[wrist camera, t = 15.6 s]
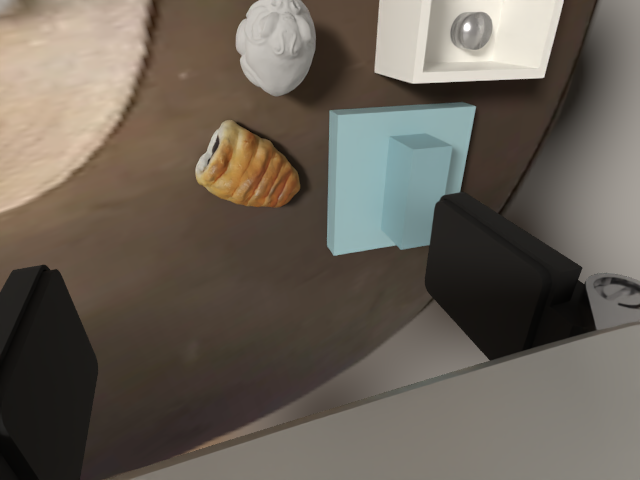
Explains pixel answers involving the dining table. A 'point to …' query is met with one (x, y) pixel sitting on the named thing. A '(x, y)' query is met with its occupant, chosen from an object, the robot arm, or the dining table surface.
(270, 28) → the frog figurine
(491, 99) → the dining table surface
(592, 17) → the dining table surface
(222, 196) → the pastry
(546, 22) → the tub
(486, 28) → the glossy grey ball
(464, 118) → the lid
